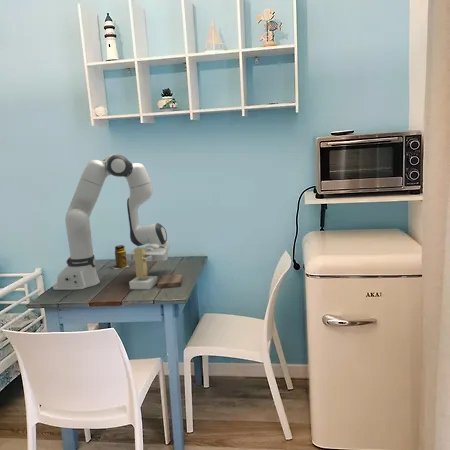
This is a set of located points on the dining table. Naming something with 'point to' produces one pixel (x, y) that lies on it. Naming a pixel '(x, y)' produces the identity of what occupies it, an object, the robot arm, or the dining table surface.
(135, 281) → the socket block
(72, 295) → the dining table surface
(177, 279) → the board
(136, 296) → the dining table surface
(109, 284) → the dining table surface
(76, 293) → the dining table surface
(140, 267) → the peg
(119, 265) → the condiment
